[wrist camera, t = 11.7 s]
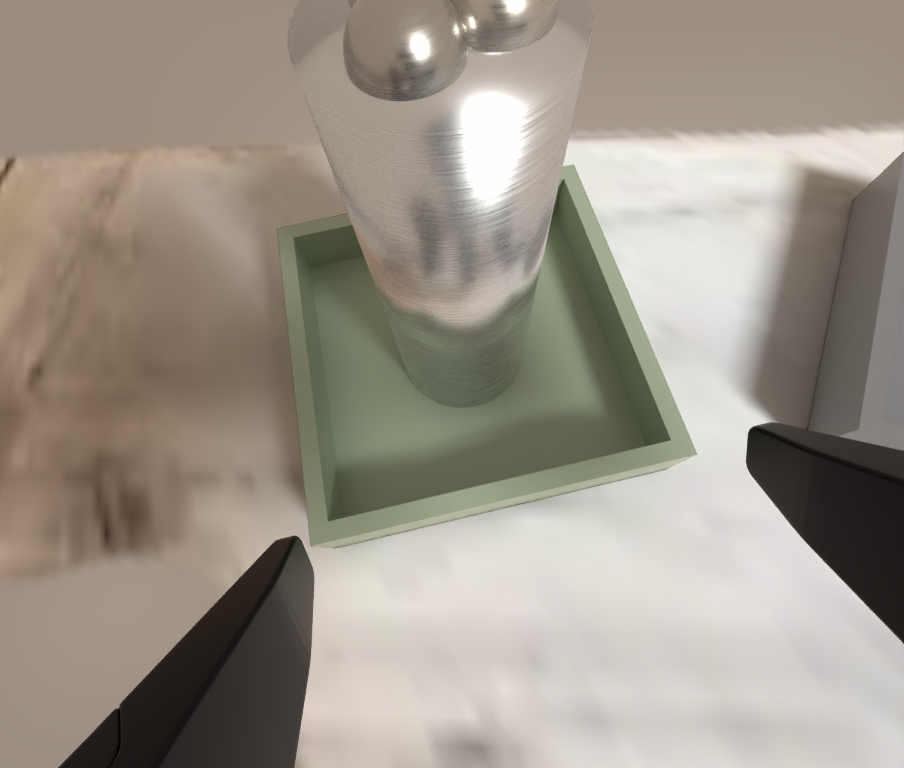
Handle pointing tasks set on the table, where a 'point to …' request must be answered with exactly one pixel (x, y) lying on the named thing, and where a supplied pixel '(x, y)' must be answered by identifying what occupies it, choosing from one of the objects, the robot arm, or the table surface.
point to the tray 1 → (480, 427)
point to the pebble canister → (447, 164)
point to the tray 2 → (867, 323)
